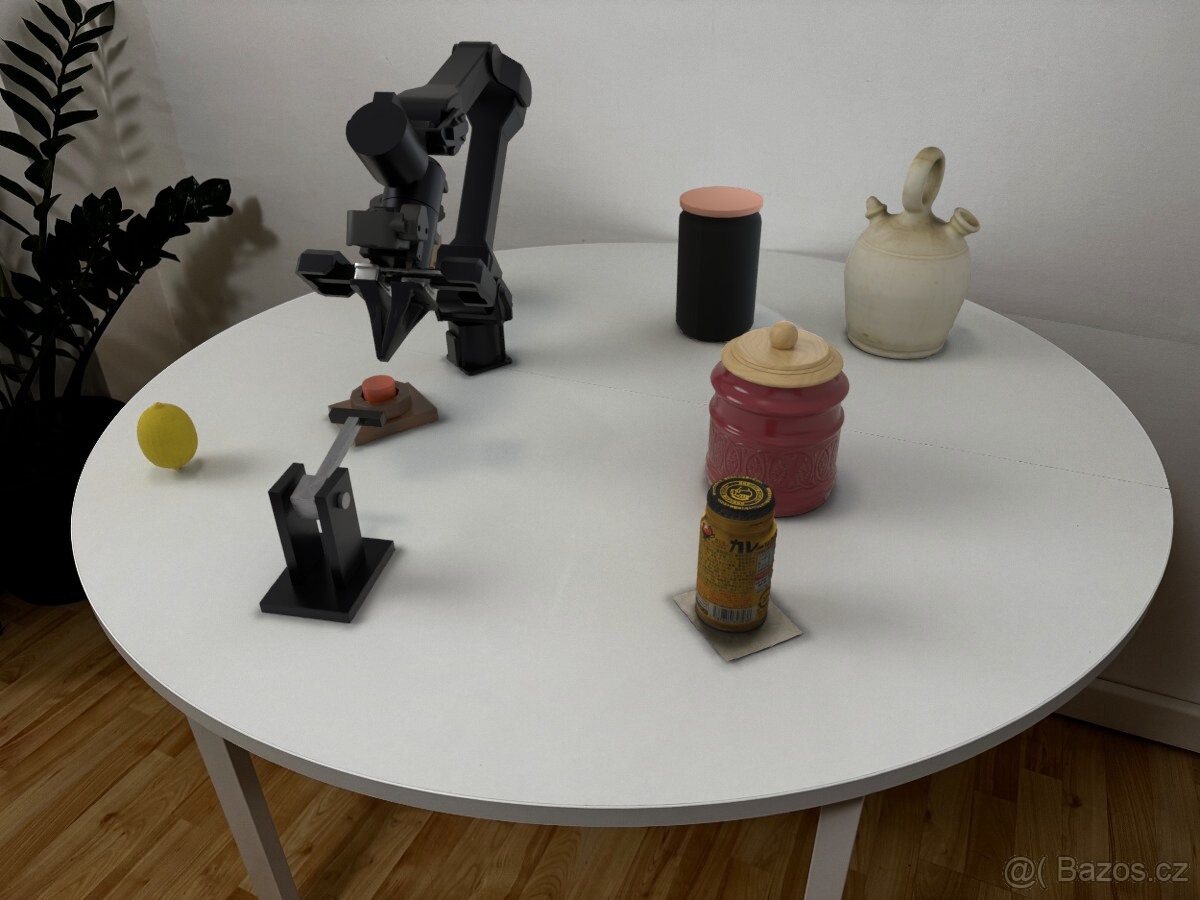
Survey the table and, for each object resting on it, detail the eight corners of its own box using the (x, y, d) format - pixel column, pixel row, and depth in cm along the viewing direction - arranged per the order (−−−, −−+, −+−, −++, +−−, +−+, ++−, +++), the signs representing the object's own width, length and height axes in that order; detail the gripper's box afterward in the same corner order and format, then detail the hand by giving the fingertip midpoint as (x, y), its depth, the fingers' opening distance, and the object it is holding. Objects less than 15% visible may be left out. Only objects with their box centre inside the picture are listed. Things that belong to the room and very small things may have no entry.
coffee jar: (765, 322, 124) (777, 193, 115) (732, 351, 117) (742, 215, 107) (697, 307, 129) (702, 181, 120) (661, 333, 122) (664, 202, 112)
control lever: (337, 420, 83) (330, 401, 81) (388, 425, 82) (382, 405, 80) (281, 516, 74) (273, 496, 73) (338, 522, 74) (330, 502, 72)
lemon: (186, 486, 92) (165, 419, 88) (138, 480, 93) (115, 414, 89) (216, 457, 96) (197, 392, 92) (170, 452, 97) (149, 388, 93)
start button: (389, 385, 103) (386, 371, 102) (401, 397, 101) (399, 383, 100) (359, 394, 102) (356, 380, 101) (371, 406, 99) (369, 392, 98)
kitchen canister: (823, 531, 84) (848, 362, 74) (689, 505, 88) (697, 341, 78) (841, 460, 94) (866, 304, 85) (721, 439, 98) (731, 288, 89)
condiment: (743, 574, 79) (754, 459, 72) (802, 634, 72) (819, 515, 66) (671, 599, 76) (676, 483, 70) (726, 664, 70) (736, 542, 63)
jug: (981, 345, 117) (1026, 149, 104) (902, 377, 110) (940, 171, 97) (888, 307, 128) (919, 126, 115) (811, 334, 121) (834, 144, 107)
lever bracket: (315, 541, 84) (292, 443, 78) (395, 550, 82) (378, 451, 77) (261, 613, 75) (231, 509, 70) (350, 624, 74) (327, 520, 68)
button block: (410, 394, 108) (406, 368, 106) (439, 421, 102) (435, 394, 101) (330, 418, 103) (324, 391, 102) (355, 448, 98) (350, 420, 96)
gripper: (284, 165, 83) (249, 323, 79) (477, 172, 80) (449, 337, 76) (335, 222, 93) (306, 364, 90) (507, 231, 90) (484, 377, 87)
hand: (382, 360), depth 86 cm, fingers closed
